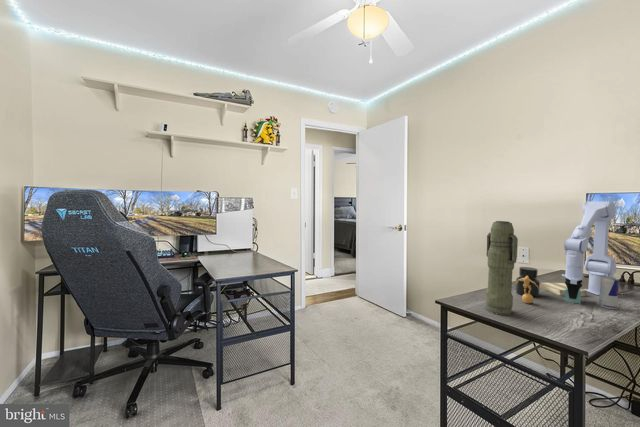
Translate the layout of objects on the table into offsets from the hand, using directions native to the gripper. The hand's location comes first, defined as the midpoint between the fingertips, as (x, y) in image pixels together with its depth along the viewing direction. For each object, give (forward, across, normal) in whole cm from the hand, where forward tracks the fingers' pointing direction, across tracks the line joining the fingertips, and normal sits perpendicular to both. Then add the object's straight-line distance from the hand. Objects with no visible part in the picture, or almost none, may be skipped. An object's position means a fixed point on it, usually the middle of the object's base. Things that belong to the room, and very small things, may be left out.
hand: (572, 297), depth 126 cm
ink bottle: (+2, +3, -16) cm, 16 cm away
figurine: (+2, +19, -14) cm, 24 cm away
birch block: (+2, -14, -4) cm, 14 cm away
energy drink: (+2, 0, +11) cm, 11 cm away
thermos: (+2, +36, -22) cm, 42 cm away
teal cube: (+2, 0, 0) cm, 2 cm away
